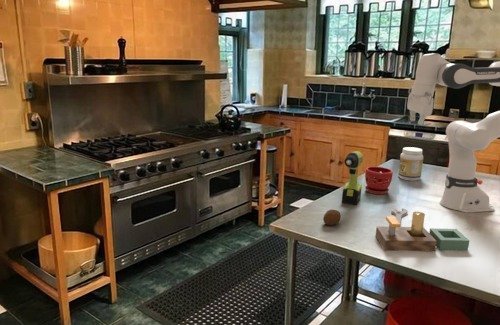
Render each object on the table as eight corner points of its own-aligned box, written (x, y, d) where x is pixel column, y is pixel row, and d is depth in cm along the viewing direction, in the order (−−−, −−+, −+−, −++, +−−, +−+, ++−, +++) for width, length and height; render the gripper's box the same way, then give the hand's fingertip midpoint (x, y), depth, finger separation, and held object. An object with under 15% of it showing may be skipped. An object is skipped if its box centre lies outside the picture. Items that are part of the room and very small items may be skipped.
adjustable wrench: (399, 234, 160) (399, 230, 160) (382, 231, 163) (382, 227, 163) (408, 212, 182) (408, 209, 181) (393, 210, 185) (393, 206, 184)
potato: (343, 221, 171) (344, 207, 169) (335, 229, 163) (336, 215, 161) (328, 218, 174) (329, 204, 173) (320, 226, 166) (321, 212, 165)
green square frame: (455, 238, 156) (456, 228, 155) (467, 250, 146) (469, 240, 145) (428, 238, 156) (430, 228, 155) (439, 250, 146) (441, 240, 145)
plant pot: (387, 197, 200) (390, 174, 197) (361, 193, 206) (362, 170, 203) (393, 190, 211) (395, 168, 208) (367, 186, 217) (369, 164, 214)
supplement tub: (394, 175, 237) (397, 146, 233) (414, 174, 238) (417, 146, 234) (404, 181, 225) (407, 151, 221) (424, 180, 227) (428, 151, 222)
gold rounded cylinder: (418, 241, 153) (422, 211, 150) (422, 246, 149) (426, 215, 146) (407, 241, 153) (411, 211, 150) (411, 245, 150) (415, 215, 146)
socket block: (422, 236, 157) (423, 227, 156) (435, 251, 145) (436, 241, 144) (375, 235, 158) (376, 226, 156) (384, 250, 146) (385, 240, 145)
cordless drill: (352, 213, 180) (356, 158, 173) (336, 210, 183) (340, 156, 176) (361, 197, 200) (365, 147, 194) (347, 195, 203) (350, 146, 196)
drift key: (392, 231, 154) (394, 216, 153) (398, 239, 147) (400, 224, 146) (384, 231, 154) (386, 216, 153) (390, 239, 148) (392, 224, 146)
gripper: (440, 94, 167) (432, 127, 171) (421, 90, 187) (414, 119, 190) (424, 92, 167) (417, 125, 171) (407, 88, 187) (401, 118, 190)
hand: (416, 122), depth 181 cm, fingers open, 8 cm apart
